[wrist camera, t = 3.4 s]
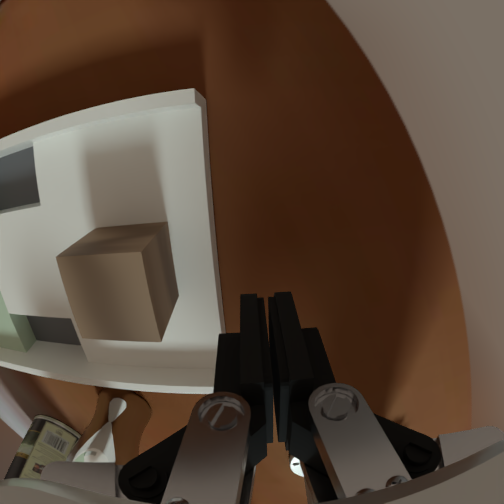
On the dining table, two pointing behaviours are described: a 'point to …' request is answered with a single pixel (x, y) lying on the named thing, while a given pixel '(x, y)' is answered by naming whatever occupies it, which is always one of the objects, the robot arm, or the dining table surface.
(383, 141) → the dining table surface
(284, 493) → the dining table surface
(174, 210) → the box
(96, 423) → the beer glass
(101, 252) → the walnut block
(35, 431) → the coffee can
